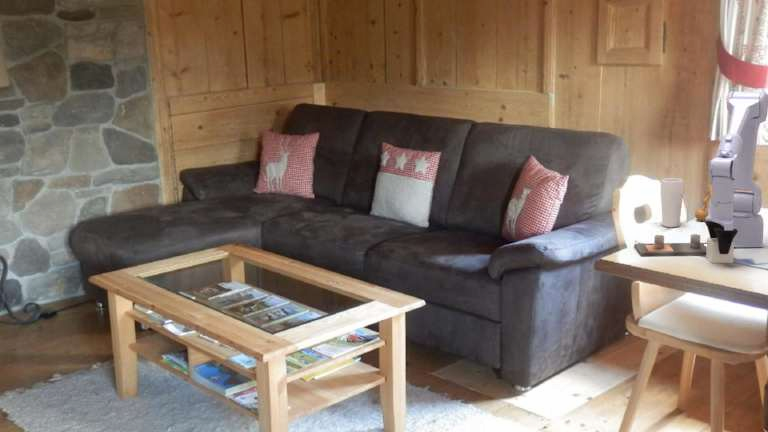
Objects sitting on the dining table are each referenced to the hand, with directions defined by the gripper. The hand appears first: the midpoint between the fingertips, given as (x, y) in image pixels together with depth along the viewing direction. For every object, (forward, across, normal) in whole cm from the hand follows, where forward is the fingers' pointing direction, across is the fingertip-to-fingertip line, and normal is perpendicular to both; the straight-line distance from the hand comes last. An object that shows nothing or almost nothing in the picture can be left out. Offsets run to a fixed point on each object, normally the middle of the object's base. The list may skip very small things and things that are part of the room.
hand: (719, 250), depth 232 cm
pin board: (+3, -10, -9) cm, 14 cm away
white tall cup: (+3, -40, -4) cm, 40 cm away
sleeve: (+3, 0, 0) cm, 3 cm away
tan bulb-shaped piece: (+3, -46, +8) cm, 47 cm away
